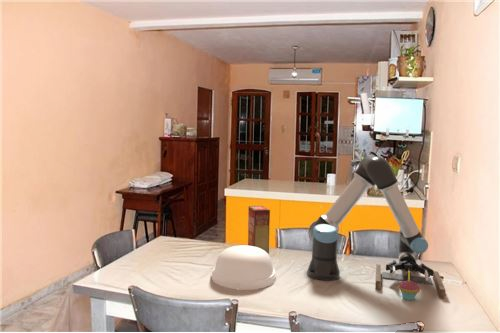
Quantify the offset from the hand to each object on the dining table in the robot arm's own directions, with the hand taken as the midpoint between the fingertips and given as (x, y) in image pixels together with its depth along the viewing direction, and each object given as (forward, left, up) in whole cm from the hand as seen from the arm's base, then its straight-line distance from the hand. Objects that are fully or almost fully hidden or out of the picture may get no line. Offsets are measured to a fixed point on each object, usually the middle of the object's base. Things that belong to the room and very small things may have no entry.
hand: (410, 275), depth 183 cm
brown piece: (0, +8, -7) cm, 11 cm away
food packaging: (-78, +31, -7) cm, 85 cm away
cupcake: (-1, -8, -7) cm, 11 cm away
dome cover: (-73, -11, -7) cm, 74 cm away
